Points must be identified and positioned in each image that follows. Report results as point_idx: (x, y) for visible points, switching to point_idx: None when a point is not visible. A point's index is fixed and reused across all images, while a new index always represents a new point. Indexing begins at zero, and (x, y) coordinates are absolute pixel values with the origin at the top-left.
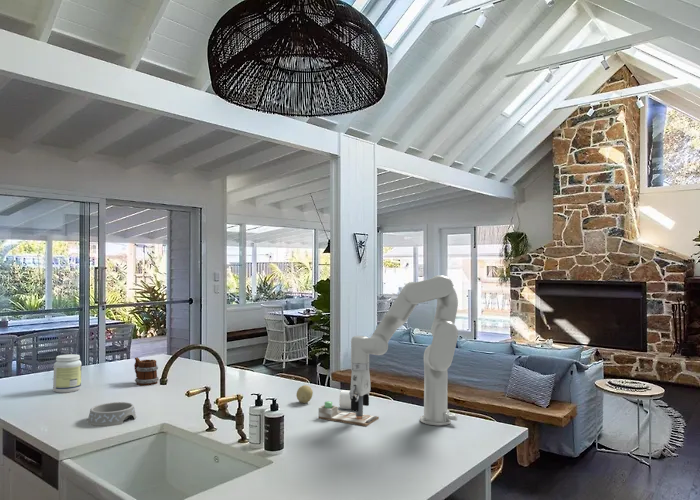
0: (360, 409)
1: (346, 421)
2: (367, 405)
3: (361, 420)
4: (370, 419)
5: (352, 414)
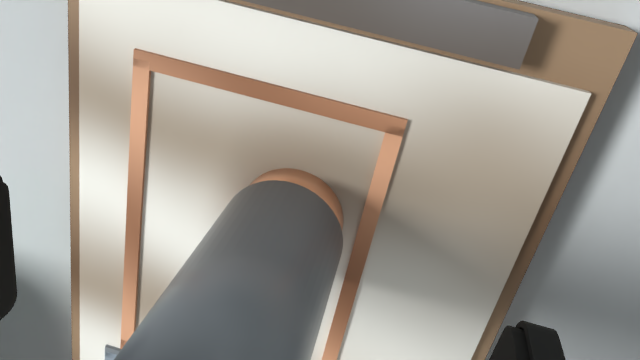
0: (307, 286)
1: (484, 355)
2: (4, 188)
3: (433, 161)
4: (389, 2)
5: None
